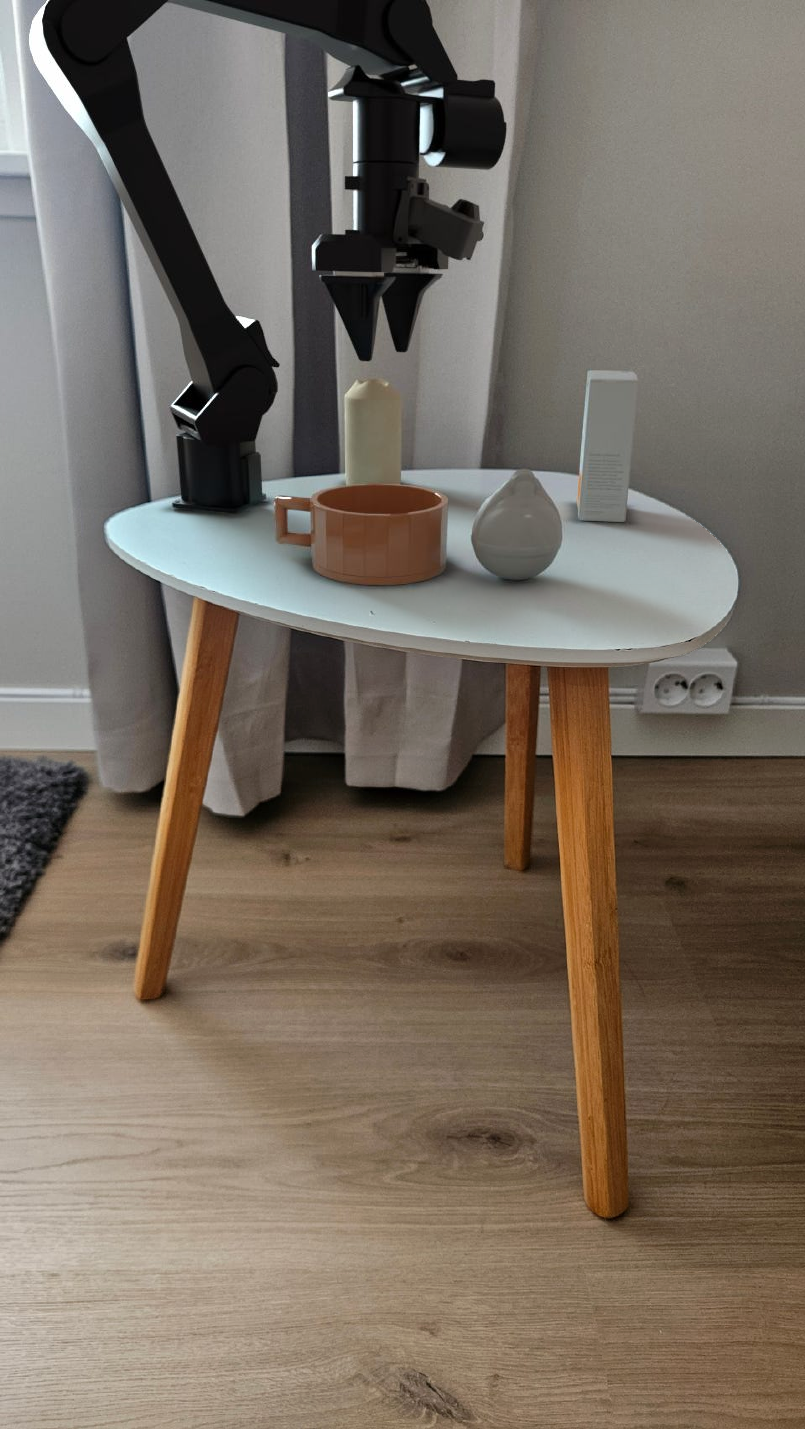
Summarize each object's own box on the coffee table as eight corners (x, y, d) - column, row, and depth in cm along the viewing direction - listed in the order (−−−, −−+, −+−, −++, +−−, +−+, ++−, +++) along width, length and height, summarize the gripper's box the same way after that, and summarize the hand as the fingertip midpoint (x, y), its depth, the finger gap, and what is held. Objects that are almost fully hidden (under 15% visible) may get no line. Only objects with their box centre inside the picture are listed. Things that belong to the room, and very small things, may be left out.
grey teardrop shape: (542, 561, 76) (550, 455, 73) (570, 589, 70) (580, 475, 66) (458, 564, 75) (462, 456, 72) (479, 593, 69) (485, 477, 66)
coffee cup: (461, 554, 78) (464, 490, 75) (421, 592, 69) (423, 521, 67) (303, 536, 82) (301, 475, 79) (246, 570, 73) (243, 502, 71)
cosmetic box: (575, 504, 93) (587, 369, 88) (621, 506, 92) (636, 371, 87) (576, 521, 87) (589, 378, 82) (625, 523, 87) (641, 379, 82)
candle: (394, 492, 96) (395, 384, 92) (339, 489, 97) (337, 382, 93) (405, 480, 101) (407, 377, 97) (353, 477, 102) (352, 375, 98)
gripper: (440, 155, 75) (434, 372, 82) (505, 172, 91) (495, 352, 98) (307, 156, 79) (311, 364, 85) (391, 172, 94) (389, 346, 101)
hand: (384, 356), depth 92 cm, fingers open, 9 cm apart
